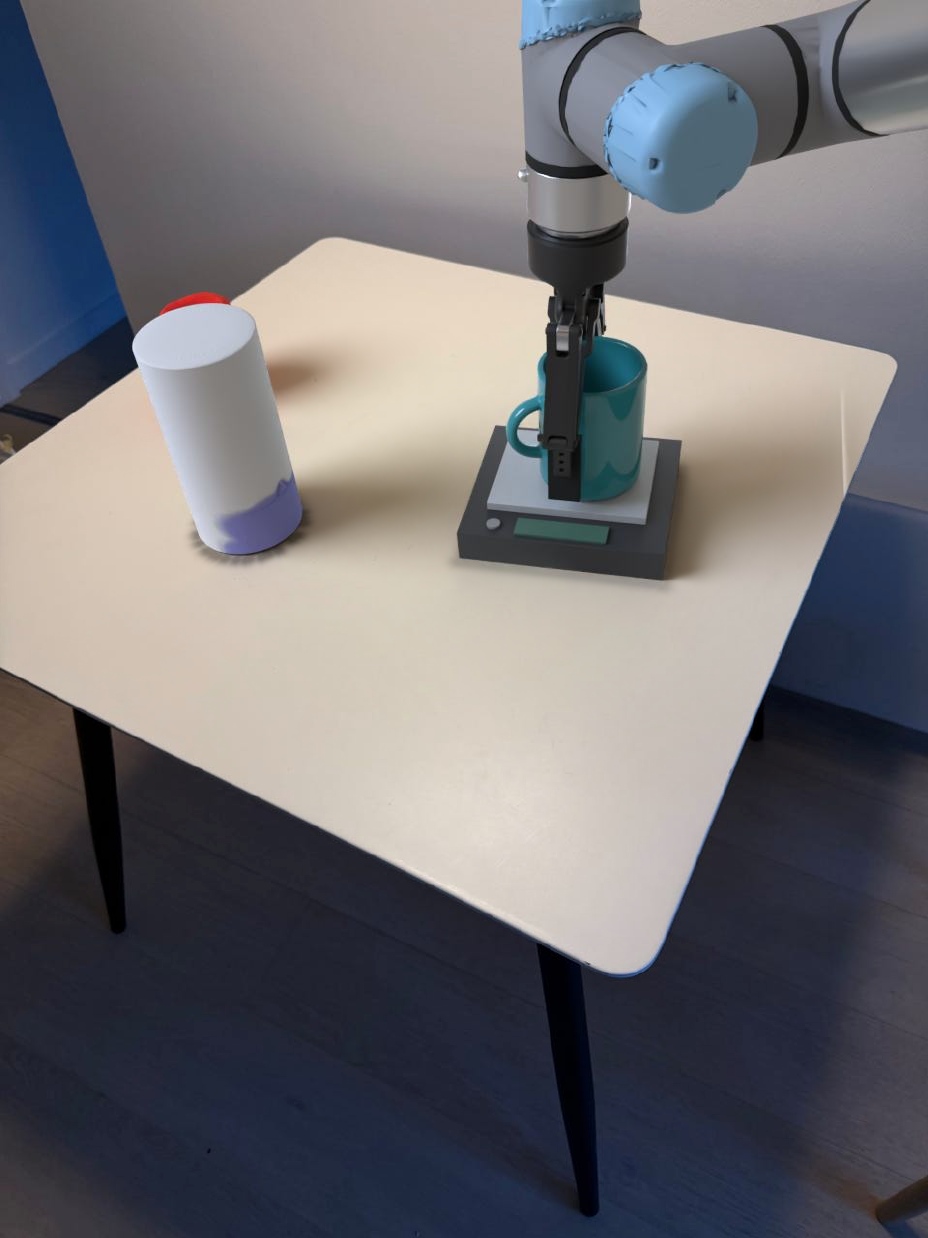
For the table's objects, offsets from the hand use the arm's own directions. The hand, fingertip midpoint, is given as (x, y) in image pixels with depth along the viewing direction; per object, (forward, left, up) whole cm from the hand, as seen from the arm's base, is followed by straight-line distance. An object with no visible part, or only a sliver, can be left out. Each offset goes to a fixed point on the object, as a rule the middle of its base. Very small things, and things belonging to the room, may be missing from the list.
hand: (575, 456), depth 89 cm
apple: (+42, -13, -6) cm, 44 cm away
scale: (0, +1, -5) cm, 6 cm away
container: (+30, +7, -6) cm, 31 cm away
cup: (0, +1, -2) cm, 2 cm away
